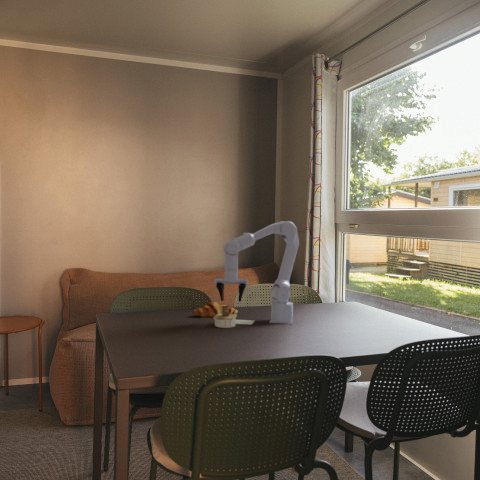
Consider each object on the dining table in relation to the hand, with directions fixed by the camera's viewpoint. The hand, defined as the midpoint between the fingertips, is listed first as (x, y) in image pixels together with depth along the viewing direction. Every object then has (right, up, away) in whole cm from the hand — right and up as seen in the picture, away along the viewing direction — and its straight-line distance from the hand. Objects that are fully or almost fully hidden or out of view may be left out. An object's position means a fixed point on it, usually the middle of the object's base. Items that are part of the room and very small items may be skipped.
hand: (231, 300), depth 192 cm
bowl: (-2, -10, -4) cm, 11 cm away
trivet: (+5, -10, +2) cm, 11 cm away
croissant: (-7, -10, +16) cm, 20 cm away
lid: (-2, -6, -4) cm, 8 cm away
